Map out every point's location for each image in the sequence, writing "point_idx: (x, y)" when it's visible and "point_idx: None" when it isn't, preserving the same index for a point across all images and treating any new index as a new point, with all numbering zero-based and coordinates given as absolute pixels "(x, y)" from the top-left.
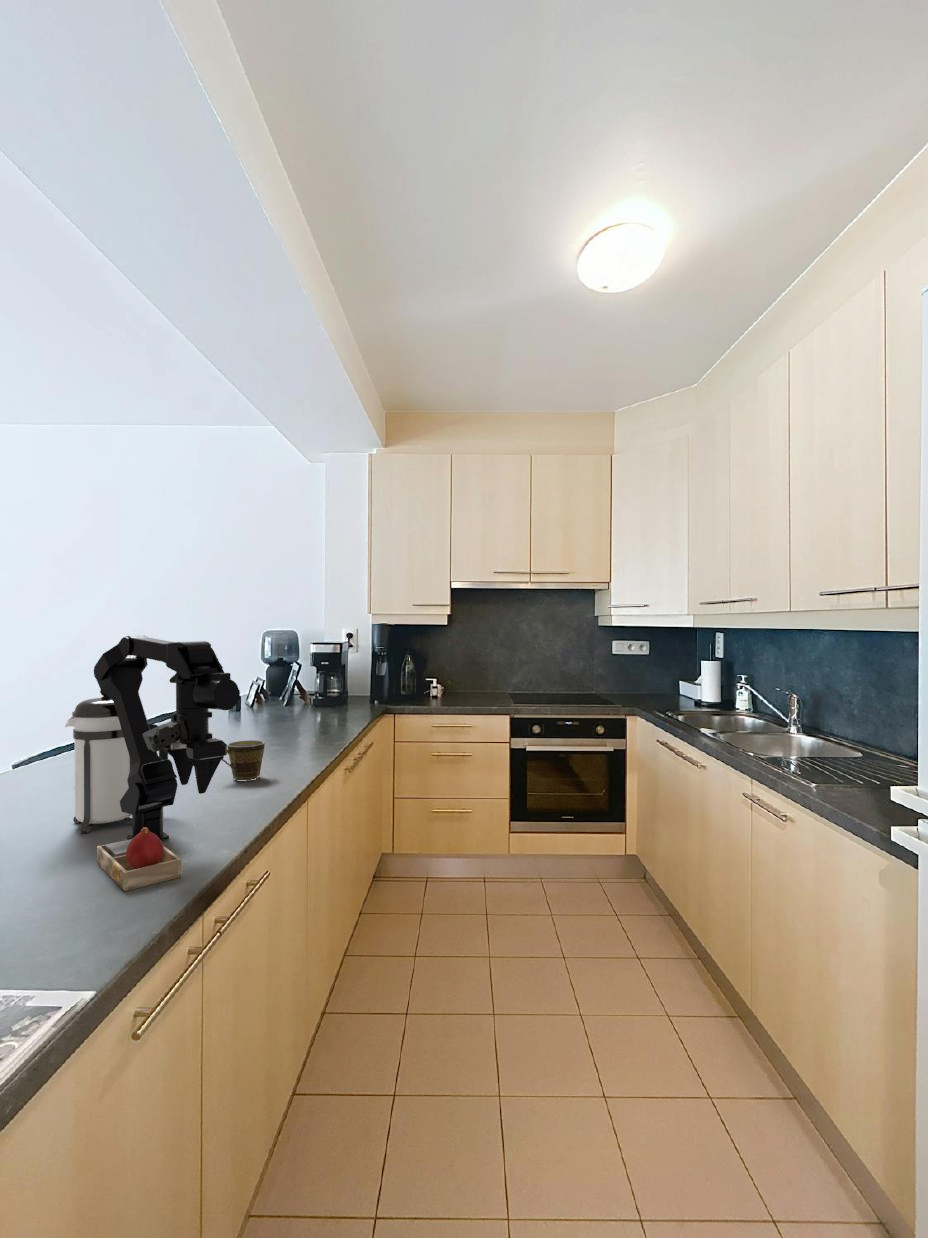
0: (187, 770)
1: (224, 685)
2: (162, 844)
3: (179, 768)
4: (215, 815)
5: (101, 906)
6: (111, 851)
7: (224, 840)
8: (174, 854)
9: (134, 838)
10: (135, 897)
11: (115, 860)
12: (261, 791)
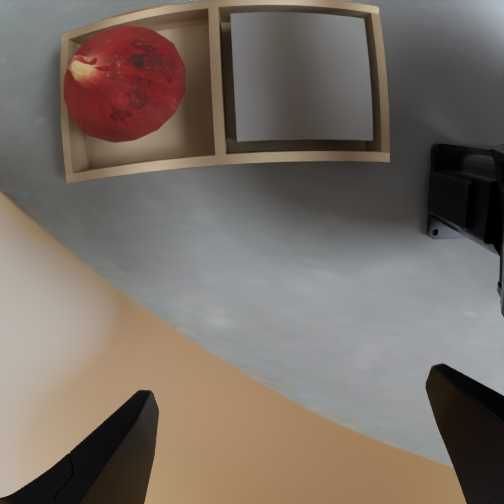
0: (460, 441)
1: None
2: (102, 138)
3: (490, 423)
4: (480, 360)
5: (45, 11)
6: (283, 13)
7: (309, 344)
8: (116, 174)
9: (100, 38)
10: (40, 69)
11: (183, 10)
12: None
